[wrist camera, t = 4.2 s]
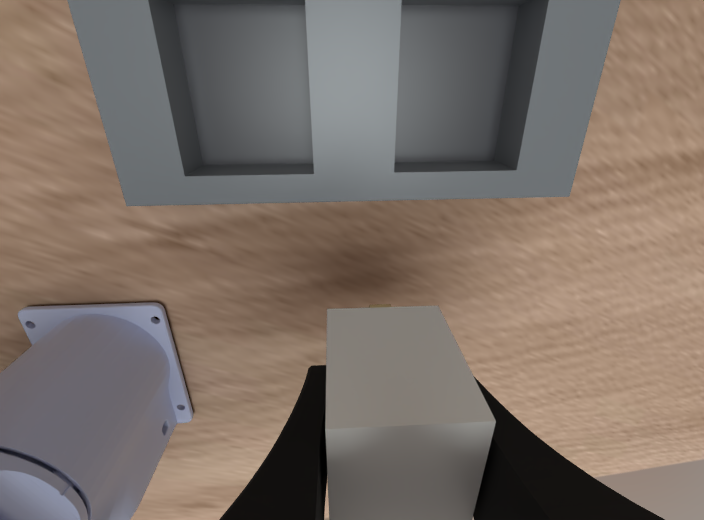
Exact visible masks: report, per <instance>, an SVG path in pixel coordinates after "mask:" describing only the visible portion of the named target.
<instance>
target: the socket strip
mask: <svg viewBox="0 0 704 520" xmlns="http://www.w3.org/2000/svg"><path fill="white" fill-rule="evenodd" d="M68 4H69V7H70V11H71V14H72V18H73V21H74V25H75V28H76V32H77V35H78V39H79V42H80V46H81V49H82V53H83V56H84V60H85V63H86V67H87V70H88V74H89V77H90V80H91V84H92V87H93V91H94V94H95V98H96V101H97V105H98V108H99V112H100V115H101V119H102V122H103V126H104V129H105V133H106V136H107V140H108V143H109V147H110V150H111V154H112V157H113V161H114V164H115V167H116V171H117V174H118V178H119V181H120V185H121V188H122V192H123V195H124V199H125V202H126V206H156V205H202V204H249V203H295V202H341V201H387V200H433V199H480V198H526V197H569V196H570V192H571V188H572V184H573V180H574V177H575V173H576V169H577V165H578V161H579V157H580V154H581V150H582V146H583V142H584V138H585V134H586V131H587V127H588V123H589V119H590V115H591V112H592V108H593V104H594V100H595V96H596V92H597V89H598V85H599V81H600V77H601V73H602V69H603V66H604V62H605V58H606V54H607V50H608V46H609V43H610V39H611V35H612V31H613V27H614V23H615V20H616V16H617V12H618V8H619V4H620V0H68Z"/></svg>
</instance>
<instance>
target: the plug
mask: <svg viewBox="0 0 704 520" xmlns="http://www.w3.org/2000/svg"><path fill="white" fill-rule="evenodd" d="M495 424H496V420H495V418H494V416H493V414H492V412H491V410H490V408H489V406H488V404H487V402H486V400H485V398H484V396H483V394H482V392H481V390H480V388H479V386H478V384H477V382H476V380H475V378H474V376H473V374H472V372H471V370H470V368H469V366H468V364H467V362H466V360H465V358H464V356H463V354H462V352H461V350H460V348H459V346H458V344H457V342H456V340H455V338H454V336H453V334H452V332H451V330H450V328H449V326H448V324H447V322H446V320H445V318H444V316H443V314H442V312H441V310H440V308H439V306H408V307H391V305H390V304H385V305H369V308H341V309H327V353H326V422H325V432H326V454H327V476H328V498H329V519H330V520H472V518H473V514H474V509H475V505H476V501H477V497H478V493H479V489H480V485H481V481H482V477H483V473H484V469H485V465H486V460H487V456H488V452H489V448H490V444H491V440H492V436H493V432H494V428H495Z"/></svg>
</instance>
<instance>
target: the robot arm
mask: <svg viewBox="0 0 704 520" xmlns="http://www.w3.org/2000/svg"><path fill="white" fill-rule="evenodd" d="M154 316H155V317H158V318H159V319H160V320H157V319H155V318H154ZM18 318H19V320H20V322H21V324H22V326H23V328H24V330H25V332H26V334H27V336H28V338H29V340H30V342H31V344H32V346H31V347H30V348H29V349H28V350H27V351H25V352H24V353H23V354H22V355H21V356H20V357H18V358H17V359H16V360H15V361H14V362H13V363H11V364H10V365H9V366H8V367H7V368H6V369H4V370H3V371H2V372H1V373H0V520H130V519H131V517H132V516H133V514H134V513H135V511H136V510H137V508H138V506H139V504H140V502H141V500H142V498H143V495H144V493H145V491H146V489H147V487H148V485H149V482H150V480H151V478H152V476H153V474H154V472H155V469H156V467H157V465H158V463H159V461H160V459H161V456H162V454H163V452H164V450H165V448H166V446H167V443H168V441H169V439H170V437H171V435H172V433H173V430H174V428H175V426H176V424H177V423H187V422H190V421H191V420H192V418H193V410H192V407H191V403H190V399H189V396H188V392H187V389H186V385H185V381H184V378H183V374H182V370H181V367H180V363H179V359H178V356H177V352H176V349H175V345H174V341H173V338H172V334H171V330H170V327H169V323H168V320H167V316H166V312H165V309H164V307H163V306H162V305H161V304H159V303H155V302H151V303H122V304H92V305H63V306H34V307H25V308H23V309H22V310H20V311H19V312H18ZM31 321H32V322H33V323H32V322H31ZM474 378H475V377H474ZM475 380H476V382H477V384H478V386H479V388H480V390H481V392H482V394H483V396H484V398H485V400H486V402H487V404H488V406H489V408H490V410H491V412H492V414H493V416H494V418H495V420H496V424H495V428H494V432H493V436H492V440H491V444H490V448H489V452H488V456H487V460H486V465H485V469H484V473H483V477H482V481H481V485H480V489H479V493H478V497H477V501H476V505H475V509H474V514H473V517H474V520H664V519H663V518H661V517H659V516H657V515H656V514H654V513H652V512H650V511H648V510H646V509H645V508H643V507H641V506H639V505H637V504H635V503H634V502H632V501H630V500H629V499H627V498H625V497H624V496H622V495H620V494H619V493H617V492H615V491H614V490H612V489H611V488H609V487H607V486H606V485H604V484H602V483H601V482H599V481H598V480H596V479H595V478H593V477H592V476H590V475H589V474H587V473H586V472H584V471H583V470H581V469H580V468H579V467H577V466H576V465H574V464H573V463H571V462H570V461H569V460H567V459H566V458H564V457H563V456H562V455H560V454H559V453H558V452H556V451H555V450H554V449H552V448H551V447H550V446H549V445H547V444H546V443H545V442H543V441H542V440H541V439H540V438H538V437H537V436H536V435H535V434H533V433H532V432H531V431H530V430H529V429H528V428H526V427H525V426H524V425H523V424H522V423H521V422H520V421H519V420H517V419H516V418H515V417H514V416H513V415H512V414H511V413H510V412H509V411H508V410H507V409H506V408H505V407H504V406H503V405H501V404H500V403H499V402H498V401H497V400H496V399H495V398H494V397H493V396H492V395H491V394H490V393H489V392H488V391H487V390H486V389H485V387H484V386H483V385H482V384H481V383H480V382H479V381H478V380H477V379H476V378H475ZM183 405H184V406H183ZM325 422H326V365H319V366H311V367H310V368H309V369H308V373H307V376H306V380H305V383H304V385H303V388H302V390H301V393H300V395H299V398H298V400H297V402H296V404H295V407H294V409H293V411H292V413H291V415H290V417H289V419H288V421H287V423H286V425H285V426H284V428H283V430H282V432H281V434H280V436H279V438H278V439H277V441H276V443H275V444H274V446H273V448H272V449H271V451H270V452H269V454H268V456H267V457H266V459H265V460H264V462H263V463H262V465H261V466H260V468H259V469H258V471H257V472H256V473H255V475H254V476H253V478H252V479H251V480H250V482H249V483H248V485H247V486H246V487H245V489H244V490H243V491H242V493H241V494H240V495H239V496H238V498H237V499H236V500H235V501H234V502H233V504H232V505H231V506H230V507H229V509H228V510H227V511H226V512H225V514H224V515H223V516H222V517H221V518H220V520H324V510H325V496H326V484H327V454H326V432H325Z"/></svg>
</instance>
